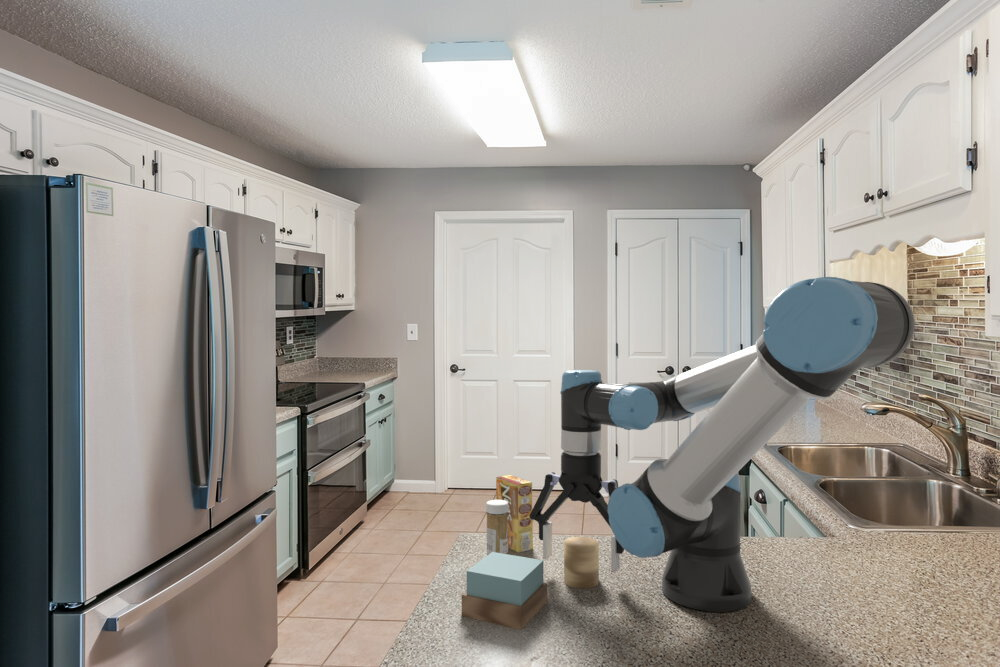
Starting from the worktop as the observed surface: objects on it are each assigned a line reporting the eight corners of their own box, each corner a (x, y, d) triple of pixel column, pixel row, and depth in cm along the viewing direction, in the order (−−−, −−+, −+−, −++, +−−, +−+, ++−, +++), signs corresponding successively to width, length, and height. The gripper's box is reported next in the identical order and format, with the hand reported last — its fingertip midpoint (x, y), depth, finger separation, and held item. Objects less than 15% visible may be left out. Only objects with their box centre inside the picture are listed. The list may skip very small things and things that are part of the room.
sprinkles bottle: (510, 571, 123) (510, 504, 123) (488, 573, 122) (488, 505, 122) (505, 563, 128) (505, 498, 128) (484, 564, 127) (483, 499, 127)
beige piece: (603, 581, 118) (603, 539, 118) (592, 594, 112) (592, 550, 112) (571, 575, 121) (571, 534, 121) (559, 587, 115) (558, 544, 115)
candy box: (533, 552, 134) (533, 481, 134) (518, 556, 132) (517, 484, 132) (511, 540, 141) (510, 474, 141) (495, 544, 139) (495, 476, 139)
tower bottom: (547, 605, 108) (547, 583, 108) (520, 632, 99) (520, 607, 99) (492, 593, 114) (492, 572, 114) (461, 618, 104) (461, 594, 104)
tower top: (543, 583, 109) (543, 560, 108) (521, 605, 99) (521, 581, 99) (492, 573, 113) (492, 551, 113) (466, 594, 104) (466, 570, 104)
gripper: (651, 454, 114) (651, 568, 114) (529, 442, 126) (529, 546, 126) (641, 462, 108) (640, 583, 108) (513, 448, 119) (512, 558, 119)
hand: (580, 563), depth 117 cm, fingers open, 13 cm apart
